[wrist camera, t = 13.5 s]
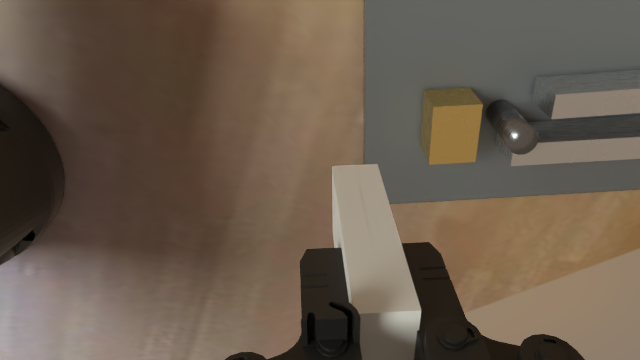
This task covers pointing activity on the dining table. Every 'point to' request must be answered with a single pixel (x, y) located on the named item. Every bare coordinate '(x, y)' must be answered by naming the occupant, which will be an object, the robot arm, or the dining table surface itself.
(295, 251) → the dining table surface
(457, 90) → the tab
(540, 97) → the tongs jaw
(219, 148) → the dining table surface
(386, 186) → the board
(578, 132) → the tongs fixed
